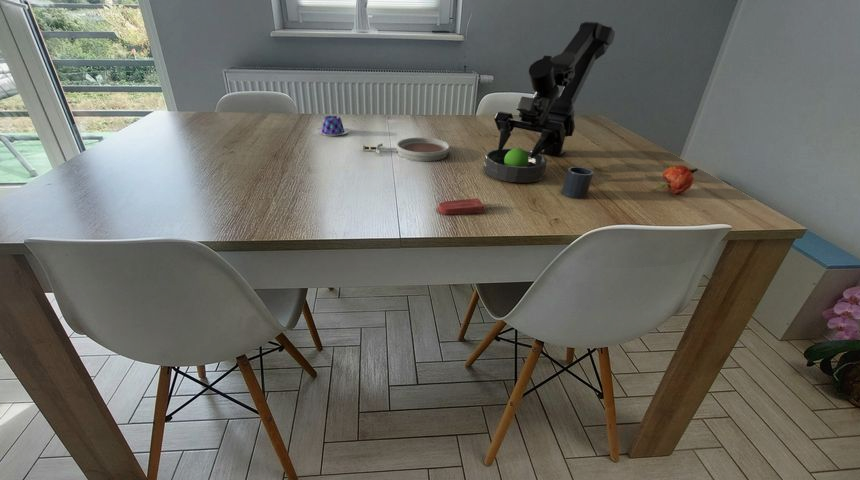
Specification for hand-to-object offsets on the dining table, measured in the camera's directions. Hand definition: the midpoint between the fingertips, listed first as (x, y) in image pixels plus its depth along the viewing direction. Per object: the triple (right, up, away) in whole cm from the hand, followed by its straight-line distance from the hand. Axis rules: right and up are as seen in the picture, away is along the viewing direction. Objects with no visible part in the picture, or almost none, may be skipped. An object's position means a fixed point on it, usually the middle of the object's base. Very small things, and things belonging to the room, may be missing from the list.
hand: (514, 154), depth 109 cm
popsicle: (-15, -18, -16) cm, 28 cm away
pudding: (-54, +19, +36) cm, 67 cm away
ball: (+1, -1, +2) cm, 3 cm away
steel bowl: (+1, -4, +4) cm, 6 cm away
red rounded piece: (+38, -12, -5) cm, 40 cm away
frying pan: (-29, +6, +18) cm, 34 cm away
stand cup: (+13, -12, -7) cm, 19 cm away
